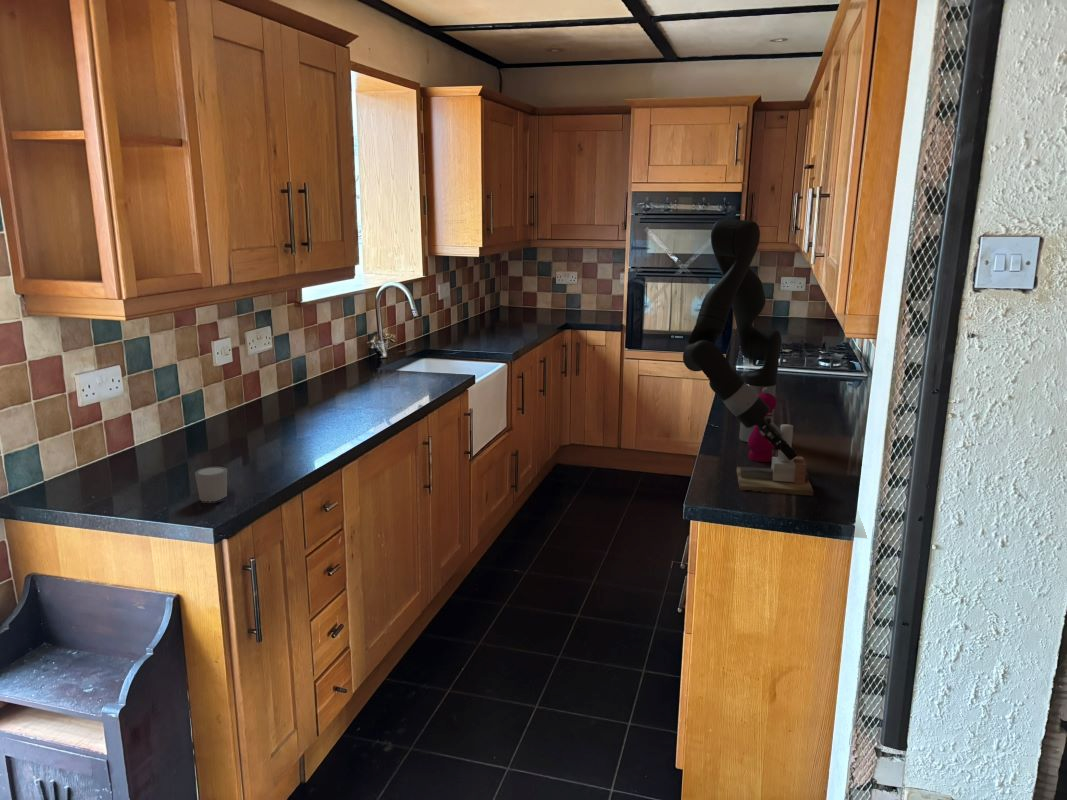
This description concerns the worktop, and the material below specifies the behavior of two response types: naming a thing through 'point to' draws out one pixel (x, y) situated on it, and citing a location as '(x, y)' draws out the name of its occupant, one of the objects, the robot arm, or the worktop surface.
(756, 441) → the pepper mill
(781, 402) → the worktop surface
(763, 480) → the track
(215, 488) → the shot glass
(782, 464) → the white handled block
